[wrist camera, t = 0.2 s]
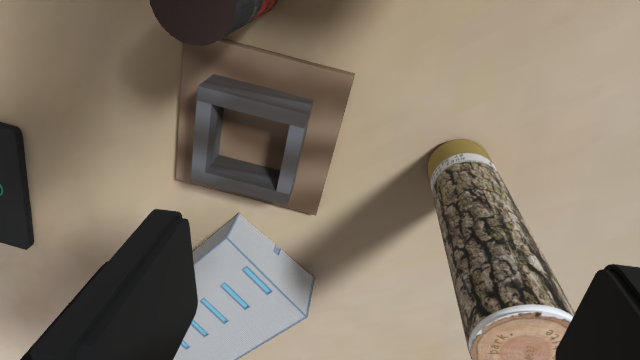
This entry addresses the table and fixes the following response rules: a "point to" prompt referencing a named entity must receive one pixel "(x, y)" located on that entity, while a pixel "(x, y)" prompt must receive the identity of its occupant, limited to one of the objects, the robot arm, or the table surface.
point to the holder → (258, 123)
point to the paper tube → (494, 260)
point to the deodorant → (207, 17)
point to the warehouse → (243, 294)
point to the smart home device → (14, 190)
